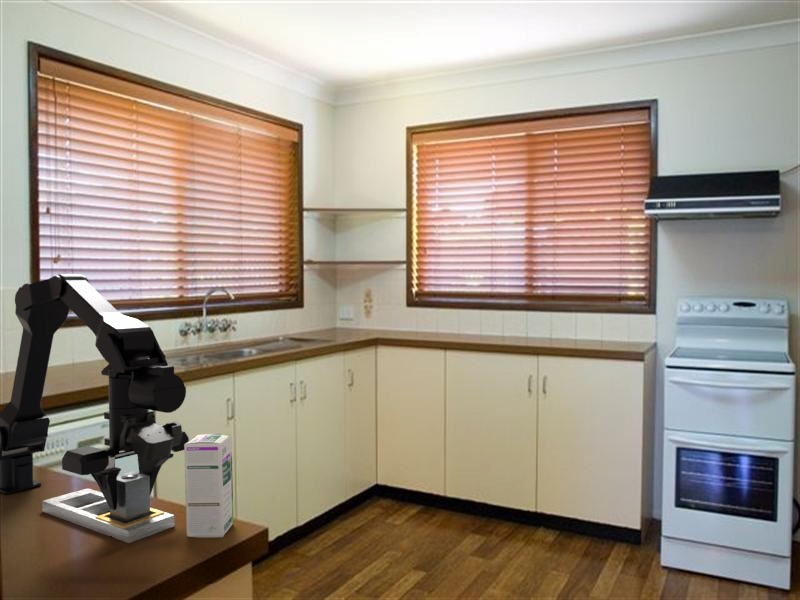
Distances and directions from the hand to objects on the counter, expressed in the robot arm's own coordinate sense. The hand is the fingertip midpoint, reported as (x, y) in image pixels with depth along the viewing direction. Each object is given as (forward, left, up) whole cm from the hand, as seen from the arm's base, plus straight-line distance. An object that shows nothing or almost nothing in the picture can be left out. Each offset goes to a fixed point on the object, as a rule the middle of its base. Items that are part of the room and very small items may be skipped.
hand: (130, 504), depth 104 cm
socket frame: (-6, 0, -4) cm, 7 cm away
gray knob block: (0, 0, -4) cm, 4 cm away
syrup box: (+12, +6, -4) cm, 14 cm away
